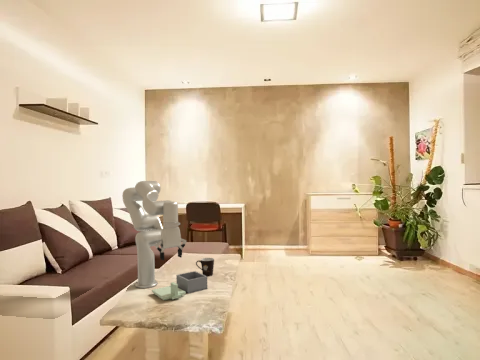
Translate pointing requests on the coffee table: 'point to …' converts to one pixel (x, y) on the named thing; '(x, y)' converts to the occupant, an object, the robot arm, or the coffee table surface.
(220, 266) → the coffee table surface
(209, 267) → the coffee mug
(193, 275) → the tub
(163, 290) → the lid
